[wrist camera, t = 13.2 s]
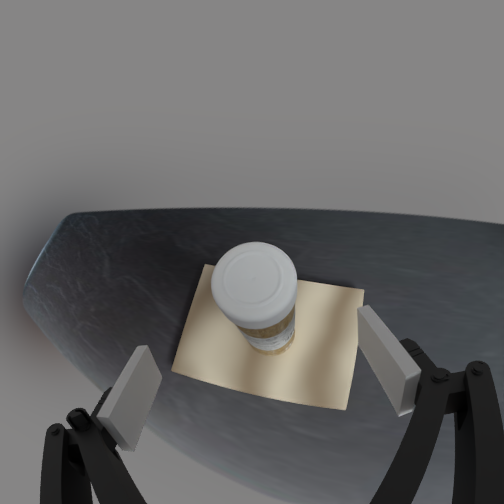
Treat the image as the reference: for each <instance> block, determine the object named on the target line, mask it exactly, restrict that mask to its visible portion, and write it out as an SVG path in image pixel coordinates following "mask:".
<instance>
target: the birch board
mask: <svg viewBox="0 0 504 504" xmlns="http://www.w3.org/2000/svg"><path fill="white" fill-rule="evenodd" d="M214 268H215V266H212V265H207V264H205V266H204V269H203V272H202V275H201V278H200V281H199V284H198V287H197V290H196V293H195V296H194V299H193V302H192V305H191V308H190V311H189V314H188V317H187V321H186V324H185V327H184V330H183V333H182V337H181V340H180V343H179V346H178V350H177V353H176V356H175V360H174V363H173V366H172V370H171V371H173V372H176V373H179V374H182V375H185V376H189V377H192V378H195V379H198V380H201V381H205V382H208V383H212V384H215V385H219V386H222V387H226V388H230V389H234V390H238V391H242V392H246V393H250V394H254V395H258V396H263V397H268V398H272V399H277V400H282V401H288V402H293V403H299V404H305V405H311V406H318V407H325V408H333V409H341V410H346V406H347V402H348V397H349V392H350V387H351V382H352V376H353V371H354V365H355V359H356V353H357V346H358V319H357V308H358V307H362V306H363V296H364V290H362V289H355V288H348V287H341V286H335V285H328V284H322V283H315V282H309V281H302V280H297V298H296V301H295V338H294V340H293V343H292V345H291V346H290V348H289V349H288V350H286V351H285V352H284V353H282V354H280V355H276V356H265V355H262V354H260V353H258V352H257V351H255V350H254V349H253V347H252V346H251V345H250V343H249V342H248V341H247V339H246V338H245V337H244V336H243V334H242V333H241V332H240V331H239V329H238V328H237V327H236V325H235V324H234V323H233V322H231V321H230V320H229V319H228V318H227V317H226V316H225V315H224V314H223V312H222V311H221V310H220V309H219V307H218V305H217V304H216V302H215V300H214V298H213V295H212V290H211V278H212V274H213V271H214Z"/></svg>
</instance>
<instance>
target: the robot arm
mask: <svg viewBox="0 0 504 504" xmlns="http://www.w3.org/2000/svg"><path fill="white" fill-rule="evenodd" d="M357 319H358V345H359V347H360V349H361V350H362V352H363V354H364V355H365V357H366V359H367V361H368V362H369V364H370V366H371V368H372V369H373V371H374V373H375V375H376V376H377V378H378V380H379V382H380V383H381V385H382V387H383V389H384V391H385V392H386V394H387V396H388V398H389V400H390V402H391V403H392V405H393V407H394V409H395V411H396V413H397V414H398V416H401V415H404V414H406V413H409V412H411V411H413V407H414V403H415V405H416V407H415V410H414V413H413V415H412V418H411V420H410V423H409V426H408V428H407V431H406V433H405V435H404V438H403V440H402V442H401V445H400V447H399V449H398V451H397V453H396V456H395V458H394V460H393V462H392V464H391V466H390V468H389V470H388V472H387V474H386V476H385V478H384V479H383V481H382V483H381V485H380V487H379V488H378V490H377V492H376V494H375V495H374V497H373V499H372V501H371V502H370V504H411V503H412V501H413V499H414V497H415V494H416V492H417V490H418V488H419V485H420V483H421V481H422V478H423V476H424V474H425V471H426V468H427V466H428V463H429V460H430V458H431V455H432V452H433V449H434V446H435V443H436V440H437V437H438V434H439V430H440V427H441V423H442V420H443V416H444V414H450V413H454V422H455V473H454V487H453V498H452V504H504V431H503V425H502V419H501V414H500V408H499V404H498V399H497V394H496V390H495V386H494V382H493V378H492V375H491V371H490V368H489V366H488V365H487V364H486V363H485V362H482V361H473V362H471V363H469V364H468V365H467V367H466V370H465V371H462V372H457V373H450V372H449V371H448V370H446V369H444V368H437V367H436V366H435V364H434V363H433V362H432V361H431V360H430V358H429V357H428V356H427V355H426V354H425V353H424V351H423V350H422V349H420V347H419V346H418V345H417V343H416V342H414V341H412V340H410V339H408V338H407V339H404V340H401V341H398V340H397V339H396V337H395V336H394V335H393V334H392V333H391V331H390V330H389V329H388V328H387V326H386V325H385V324H384V323H383V322H382V320H381V319H380V318H379V317H378V316H377V314H376V313H375V312H374V311H373V310H372V308H371V307H370V306H369V305H366V306H362V307H358V308H357ZM161 380H162V376H161V374H160V371H159V369H158V367H157V365H156V363H155V361H154V358H153V356H152V354H151V352H150V349H149V347H148V345H144V346H137V348H136V350H135V351H134V353H133V354H132V356H131V358H130V359H129V361H128V363H127V364H126V366H125V368H124V369H123V371H122V373H121V375H120V376H119V378H118V380H117V381H116V383H115V385H114V386H113V387H110V388H109V389H108V390H106V391H105V392H104V394H103V395H102V397H101V400H99V402H98V404H97V406H96V407H95V409H94V411H93V412H92V414H91V416H89V414H88V413H87V412H86V410H85V409H83V408H76V409H74V410H72V411H71V412H70V413H69V414H68V415H67V418H66V420H67V422H68V423H69V424H70V426H71V427H72V428H73V429H65V428H64V426H63V425H62V424H60V423H56V424H53V425H51V426H50V427H49V428H48V429H47V432H46V437H45V444H44V452H43V460H42V471H41V486H40V504H93V501H92V492H91V484H92V486H93V489H94V491H95V494H96V496H97V498H98V501H99V503H100V504H147V503H146V502H145V500H144V498H143V497H142V495H141V494H140V492H139V490H138V489H137V487H136V485H135V484H134V482H133V480H132V478H131V476H130V475H129V473H128V471H127V469H126V467H125V465H124V464H123V461H122V459H121V457H120V456H119V453H118V452H117V451H116V449H115V447H116V445H117V444H118V445H119V447H120V448H121V449H122V450H125V451H135V448H136V445H137V442H138V440H139V437H140V434H141V432H142V429H143V426H144V424H145V421H146V419H147V416H148V413H149V411H150V408H151V406H152V403H153V400H154V398H155V395H156V393H157V390H158V388H159V385H160V383H161ZM90 481H91V482H90Z"/></svg>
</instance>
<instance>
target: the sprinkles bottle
mask: <svg viewBox="0 0 504 504" xmlns="http://www.w3.org/2000/svg"><path fill="white" fill-rule="evenodd" d="M211 290H212V295H213V298H214V300H215V302H216V304H217V305H218V307H219V309H220V310H221V311H222V312H223V314H224V315H225V316H226V317H227V318H228V319H229V320H230V321H231V322H233V323H234V324H235V325H236V327H237V328H238V329H239V331H240V332H241V333H242V334H243V336H244V337H245V338H246V339H247V341H248V342H249V343H250V345H251V346H252V347H253V349H254V350H255V351H257V352H258V353H260V354H262V355H265V356H276V355H280V354H282V353H284V352H285V351H286V350H288V349H289V348H290V346H291V345H292V343H293V340H294V338H295V301H296V298H297V274H296V270H295V267H294V264H293V263H292V261H291V259H290V258H289V257H288V256H287V255H286V253H284V252H283V251H282V250H281V249H279V248H277V247H275V246H273V245H271V244H267V243H263V242H250V243H244V244H241V245H239V246H236V247H234V248H232V249H231V250H229V251H228V252H227V253H226V254H224V255H223V256H222V258H221V259H220V260H219V261H218V263H217V264H216V266H215V268H214V271H213V274H212V278H211Z"/></svg>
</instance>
